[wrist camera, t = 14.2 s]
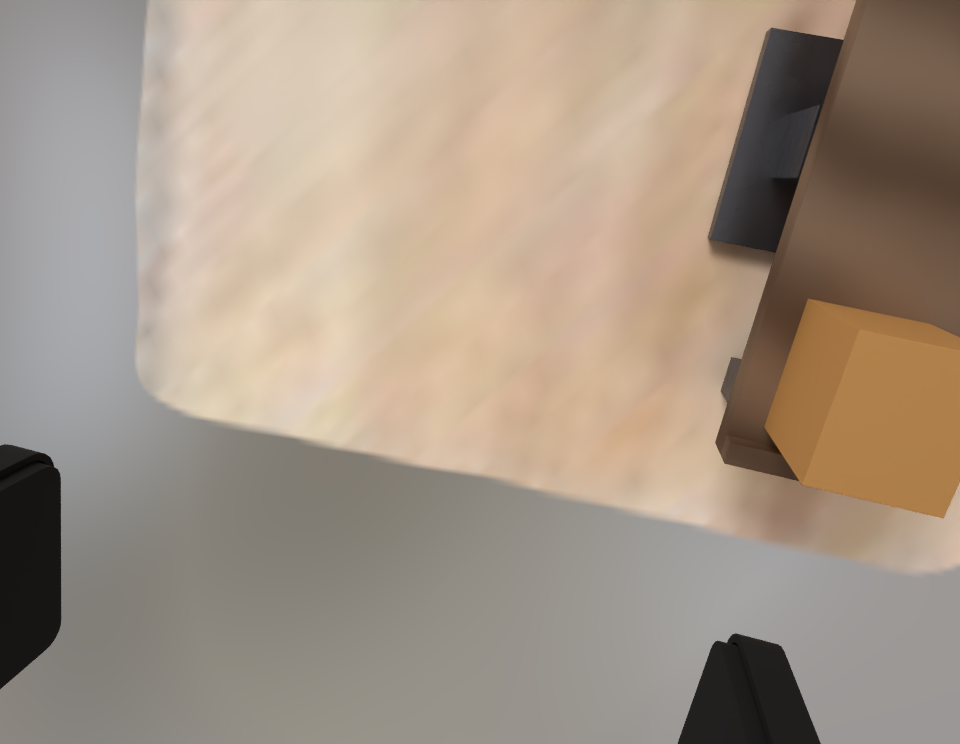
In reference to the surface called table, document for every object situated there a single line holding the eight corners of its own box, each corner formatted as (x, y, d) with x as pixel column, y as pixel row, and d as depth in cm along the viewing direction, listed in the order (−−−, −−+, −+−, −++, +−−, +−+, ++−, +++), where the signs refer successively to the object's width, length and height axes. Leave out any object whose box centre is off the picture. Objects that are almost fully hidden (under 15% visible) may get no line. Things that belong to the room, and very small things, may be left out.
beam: (941, -267, 24) (979, -315, 22) (1182, -238, 23) (1248, -284, 21) (715, 442, 33) (724, 463, 30) (885, 482, 32) (909, 506, 30)
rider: (807, 298, 29) (859, 329, 23) (930, 324, 28) (1013, 361, 23) (764, 427, 31) (802, 485, 25) (878, 453, 30) (943, 518, 24)
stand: (766, 32, 33) (799, 3, 27) (1027, 76, 32) (1116, 55, 26) (667, 378, 38) (678, 412, 33) (886, 428, 37) (936, 471, 32)
